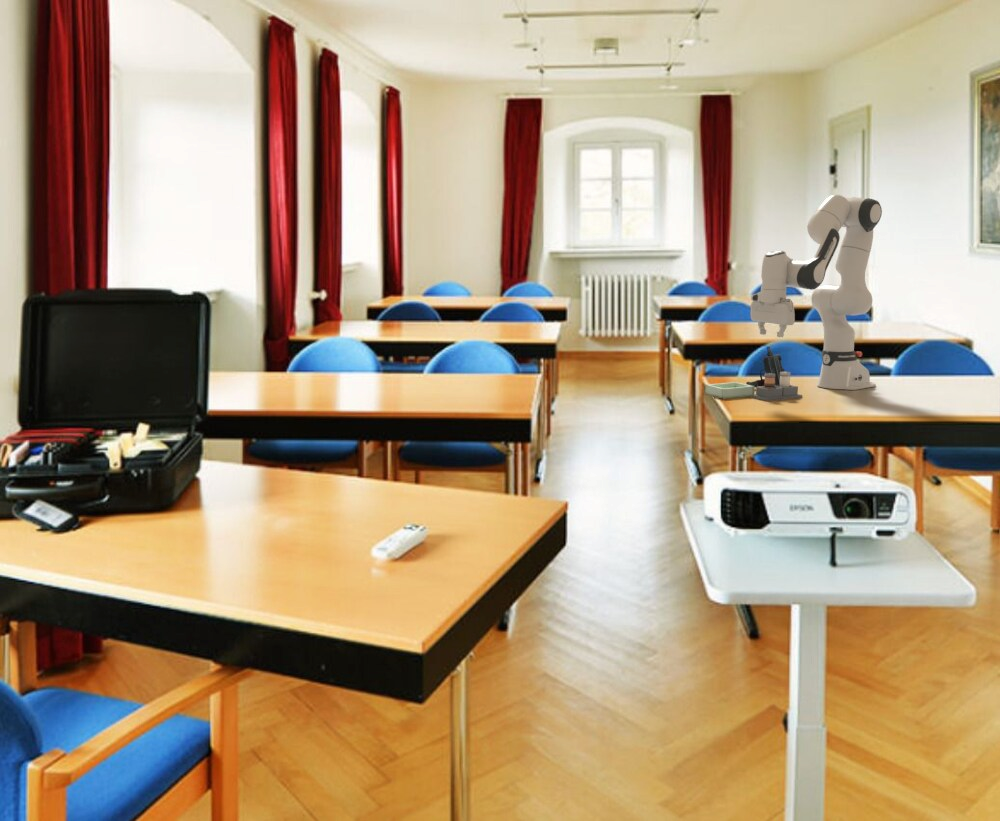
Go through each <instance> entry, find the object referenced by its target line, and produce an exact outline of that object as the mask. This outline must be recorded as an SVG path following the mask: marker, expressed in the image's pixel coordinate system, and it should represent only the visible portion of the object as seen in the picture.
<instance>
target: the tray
mask: <svg viewBox="0 0 1000 821" xmlns="http://www.w3.org/2000/svg"><path fill="white" fill-rule="evenodd" d="M704 387H705V388H704V395H706V396H710V397H714V398H717V399H723V400H724V399H725V400H726V399H727V400H728V399H736V398H737V399H738V398H747V397H751V395H753V394H755V388H756V387H755V386H751V385H747V384H746V383H741V382H737V381H731V382H723V383H722V382H721V383H709V384H705V385H704ZM754 387H755V388H754Z"/></svg>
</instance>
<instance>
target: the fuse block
mask: <svg viewBox="0 0 1000 821" xmlns="http://www.w3.org/2000/svg"><path fill="white" fill-rule="evenodd" d="M798 388H799V386H796V385H793V384H792V385H791V384H790V387H780V385H775V388H773V389H767V388H764V386H759V387H755V393H754V394H753V395H751V396H750V397H751V398H753V399H757V400H760V401H765V402H772V401H782V400H791V399H802V398H803V394H800V393H799V392H798Z"/></svg>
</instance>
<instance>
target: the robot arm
mask: <svg viewBox="0 0 1000 821" xmlns="http://www.w3.org/2000/svg"><path fill="white" fill-rule="evenodd" d="M882 210H883V208H882V206H881V204H880V202H879V201H878V200H876V199H874V198H873V199H872V198H863V197H857V196H856V197H853V196H852V197H845V196H843V195H840V194H833V195H830V196H828V197H827V198H825V200H823V202H822V203H821V204H820V205H819V206H818V207H817V209H816V210H815V211H814V212H813V214H812V215H811V217H810V219H808V223H807V225H806V227H807V229H806V230H807V233H808V236H809V237H810V238H811V239H812V241H813V242H814V243H816V244H818V248H817V250H816V252H815V254H814V257H812V258H811V259H808V260H796V259H792V258H791V257H790V256H788V255H787V253H786V252H787V251H784V250H775V251H769V252H767V253H765V254H764V256H763V259H762V263H761V264H762V266H761V275H760V276H761V281H762V282H761V287H760V291H759V292H757V293H754V294H752V295H751V296H750V301H752V302H751V304H750V319H751V321H752V322H757V326H758V330H759V335H761V336H762V335H763V336H764V335H767V329H765V325H766V323H767V324H775V325H778V327H779V329H778V331H776V333H777V335H776V336H777V338H784V335H785V334H784V333H785V331H786V329H787V327H788V326H793V325H794V324H795V322H796V319H795V318H796V317H795V316H796V314H795V307H794V302H793V301H792V299H791V298H787V287H788V288H796V289H797V288H799V289H805V290H809V291H810V290H811V291H813V292H812V295H811V299H810V300H811V304H812V307H813V308H814V309H815V310H816V311H817V312H818V314H819V317H820V319H821V323H822V326H823V349H822V353H821V360H822V364H821V367H820V374H819V379H818V382H817V387H820V388H824V389H831V390H847V391H850V390H851V391H857V390H861V389H867V388H872V387H873V388H874V387H877V384H876V383H875V382H873V381H870V379H871V377H870V370H869V369H867V368H866V367H865V366H864V365H863V364H861V363H860V362H859V361H858V359H857V358H861V357H862V356H863V353H862V351H855V350H854V349H855V335H856V334H855V329H854V328H853V326H852V325H850V324H849V322H848V320H847V316H853V317H854V316H861V315H865V314H867V313H868V312H869V311H870V310H871V308H872V306H873V296H872V293H871V291H870V290H869V289H868V286H867V284H866V272H867V271H866V270H867V266H868V262H869V260H870V259H869V258H870V254H871V252H872V246H873V239H874V228H875V227H876V226H877V225H878V224H879V222H880V220H881V217H882V214H883V211H882ZM842 228H845V229H846V231H845V233H844V236H843V238H842V242H841V244H840V247H839V250H838V255H837V259H836V262H835V266H834V267H835V270H836V272H837V273H838V274H839V275H840V279H841V280H840V284H826V285H825V284H824V285H822V283H823V282H824V280H825V278H826V277H825V276H826V272H827V270H828V268H829V264H830V262H831V261H832V259H833V256H834V255H835V252H836V250H837V248H838V246H839V242H840V239H841V238H840V237H841V236H840V233H839V231H840V230H841V229H842Z"/></svg>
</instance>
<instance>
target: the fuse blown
mask: <svg viewBox="0 0 1000 821" xmlns="http://www.w3.org/2000/svg"><path fill="white" fill-rule="evenodd" d="M764 375H765V376H764V379H765V383H764V388H767V389H773V388H775V374H774V373H765V372H764Z"/></svg>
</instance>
